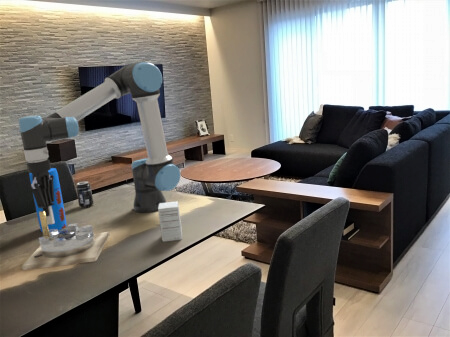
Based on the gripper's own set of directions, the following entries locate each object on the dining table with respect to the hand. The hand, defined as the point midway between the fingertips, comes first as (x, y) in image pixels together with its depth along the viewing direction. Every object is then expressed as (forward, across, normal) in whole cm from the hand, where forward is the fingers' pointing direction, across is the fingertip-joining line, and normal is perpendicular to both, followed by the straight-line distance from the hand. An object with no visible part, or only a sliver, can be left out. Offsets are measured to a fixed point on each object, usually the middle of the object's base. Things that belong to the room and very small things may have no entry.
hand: (50, 223), depth 153 cm
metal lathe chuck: (+8, -3, -7) cm, 11 cm away
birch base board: (+10, -3, -7) cm, 12 cm away
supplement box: (+10, +5, -43) cm, 45 cm away
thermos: (+10, +24, +13) cm, 29 cm away
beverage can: (+11, +54, +11) cm, 56 cm away
